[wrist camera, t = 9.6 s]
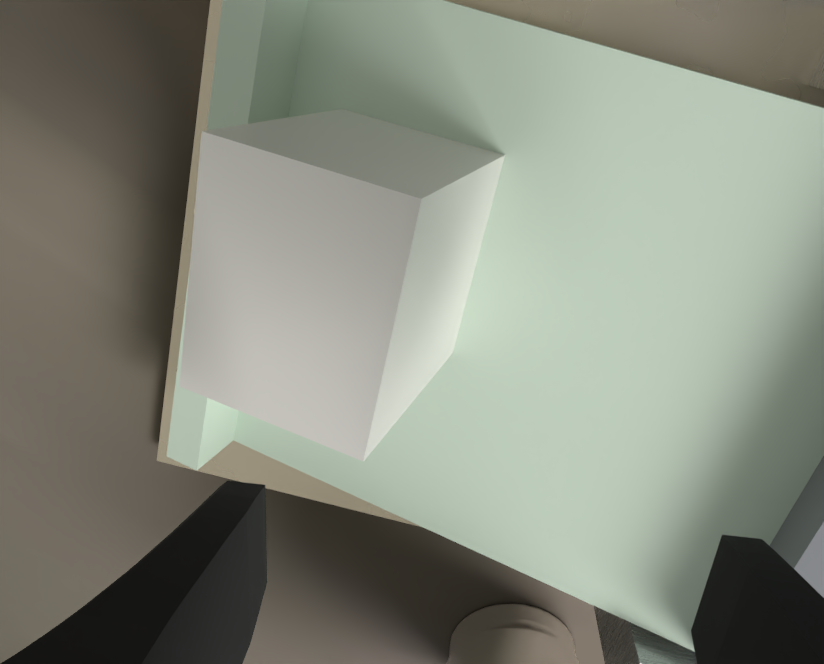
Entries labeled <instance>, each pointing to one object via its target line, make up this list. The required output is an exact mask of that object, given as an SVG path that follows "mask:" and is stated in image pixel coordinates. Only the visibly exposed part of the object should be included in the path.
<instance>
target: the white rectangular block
mask: <svg viewBox="0 0 824 664" xmlns="http://www.w3.org/2000/svg"><path fill="white" fill-rule="evenodd" d="M504 157H505V155H503V154H499V153H496V152H492V151H489V150H485V149H482V148H478V147H475V146H471V145H468V144H464V143H461V142H457V141H454V140H450V139H447V138H443V137H440V136H436V135H433V134H429V133H426V132H422V131H419V130H415V129H412V128H408V127H405V126H401V125H397V124H394V123H390V122H387V121H383V120H380V119H376V118H373V117H369V116H366V115H362V114H359V113H355V112H352V111H348V110H345V109H338V110H332V111H326V112H320V113H313V114H307V115H301V116H294V117H288V118H282V119H275V120H269V121H263V122H256V123H250V124H244V125H237V126H231V127H225V128H218V129H212V130H206V131H202V133H201V145H200V156H199V168H198V179H197V191H196V202H195V214H194V225H193V237H192V248H191V260H190V271H189V283H188V294H187V306H186V317H185V329H184V340H183V352H182V363H181V375H180V387H182V388H184V389H187V390H189V391H192V392H194V393H197V394H199V395H202V396H204V397H207V398H209V399H211V400H214V401H216V402H219V403H221V404H224V405H226V406H229V407H231V408H233V409H236V410H238V411H241V412H243V413H246V414H248V415H251V416H253V417H256V418H258V419H260V420H263V421H265V422H268V423H270V424H273V425H275V426H278V427H280V428H282V429H285V430H287V431H290V432H292V433H295V434H297V435H300V436H302V437H305V438H307V439H309V440H312V441H314V442H317V443H319V444H322V445H324V446H327V447H329V448H331V449H334V450H336V451H339V452H341V453H344V454H346V455H349V456H351V457H353V458H356V459H358V460H361V461H363V462H364V460H365V459H366V458H367V457H368V456H369V454H370V453H371V452H372V451H373V449H374V448H375V447H376V446H377V445H378V443H379V442H380V441H381V440H382V438H383V437H384V436H385V435H386V434H387V432H388V431H389V430H390V429H391V428H392V426H393V425H394V424H395V423H396V421H397V420H398V419H399V418H400V417H401V415H402V414H403V413H404V412H405V411H406V409H407V408H408V407H409V406H410V404H411V403H412V402H413V401H414V400H415V398H416V397H417V396H418V395H419V394H420V392H421V391H422V390H423V389H424V387H425V386H426V385H427V384H428V383H429V381H430V380H431V379H432V378H433V376H434V375H435V374H436V373H437V372H438V370H439V369H440V368H441V367H442V366H443V364H444V363H445V362H446V361H447V359H448V358H449V357H450V356H451V355H452V353H453V350H454V346H455V342H456V339H457V335H458V331H459V327H460V323H461V320H462V316H463V312H464V308H465V304H466V301H467V297H468V293H469V289H470V285H471V282H472V278H473V274H474V270H475V267H476V263H477V259H478V255H479V251H480V248H481V244H482V240H483V236H484V232H485V229H486V225H487V221H488V217H489V213H490V210H491V206H492V202H493V198H494V195H495V191H496V187H497V183H498V179H499V176H500V172H501V168H502V164H503V160H504Z"/></svg>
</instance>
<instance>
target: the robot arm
mask: <svg viewBox="0 0 824 664" xmlns="http://www.w3.org/2000/svg"><path fill="white" fill-rule="evenodd" d="M266 583H267V562H266V495H265V485H263V484H254V483H244V482H235V481H227V482H226V483H224V484H223V485H222V486H220V487H219V488H218V489H217V490H216V491H215V492H214V493H213V494H212V495H211V496H210V497H209V498H208V499H207V500H206V501H205V502H204V503H203V504H202V505H201V506H199V507H198V508H197V509H196V510H195V511H194V512H193V513H192V514H191V515H190V516H189V517H188V518H187V519H186V520H185V521H184V522H182V523H181V524H180V525H179V526H178V527H177V528H176V529H175V530H174V531H173V532H172V533H171V534H170V535H168V536H167V537H166V538H165V539H164V540H163V541H162V542H161V543H159V544H158V545H157V546H156V547H155V548H154V549H153V550H151V551H150V552H149V553H148V554H147V555H146V556H145V557H144V558H142V559H141V560H140V561H139V562H138V563H137V564H136V565H134V566H133V567H132V568H131V569H130V570H128V571H127V572H126V573H125V574H124V575H122V576H121V577H120V578H119V579H117V580H116V581H115V582H114V583H112V584H111V585H110V586H109V587H107V588H106V589H105V590H104V591H102V592H101V593H100V594H99V595H97V596H96V597H95V598H94V599H92V600H91V601H90V602H89V603H87V604H86V605H85V606H83V607H82V608H81V609H79V610H78V611H77V612H75V613H74V614H73V615H71V616H70V617H69V618H67V619H66V620H65V621H63V622H62V623H60V624H59V625H58V626H56V627H55V628H53V629H52V630H51V631H49V632H48V633H46V634H45V635H43V636H42V637H41V638H39V639H38V640H36V641H35V642H33V643H32V644H30V645H29V646H27V647H26V648H24V649H23V650H21V651H20V652H18V653H17V654H15V655H14V656H12V657H11V658H9V659H7V660H6V661H4V662H2V663H1V664H242V663H243V660H244V658H245V655H246V653H247V650H248V648H249V645H250V642H251V639H252V635H253V632H254V628H255V625H256V621H257V617H258V614H259V610H260V606H261V602H262V599H263V595H264V591H265V587H266ZM691 634H692V639H693V645H694V650H695V655H696V660H697V664H824V598H823V597H822V596H821V595H820V594H819V593H818V592H817V591H816V590H815V589H814V588H813V587H812V586H811V585H810V584H809V583H808V582H807V581H806V580H805V579H804V578H803V577H802V576H801V575H800V574H799V573H798V572H797V571H796V570H795V569H794V568H792V567H791V566H790V565H789V564H788V563H787V562H786V561H785V560H784V559H783V558H782V557H781V556H780V555H779V554H778V553H777V552H776V551H775V550H774V549H773V548H771V547H770V546H769V545H768V544H767V543H766V542H765V541H764V540H762V539H758V538H748V537H739V536H730V535H722V536H721V539H720V542H719V546H718V549H717V552H716V555H715V558H714V561H713V564H712V567H711V570H710V573H709V576H708V580H707V583H706V586H705V589H704V592H703V595H702V598H701V601H700V604H699V607H698V610H697V613H696V617H695V620H694V623H693V626H692V629H691Z"/></svg>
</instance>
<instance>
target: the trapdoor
mask: <svg viewBox="0 0 824 664" xmlns="http://www.w3.org/2000/svg"><path fill="white" fill-rule="evenodd" d="M338 109H345V110H348V111H352V112H355V113H359V114H362V115H366V116H369V117H373V118H376V119H380V120H383V121H387V122H390V123H394V124H397V125H401V126H405V127H408V128H412V129H415V130H419V131H422V132H426V133H429V134H433V135H436V136H440V137H443V138H447V139H450V140H454V141H457V142H461V143H464V144H468V145H471V146H475V147H478V148H482V149H485V150H489V151H492V152H496V153H499V154H503V155H505V157H504V160H503V164H502V168H501V172H500V176H499V179H498V183H497V187H496V191H495V195H494V198H493V202H492V206H491V210H490V213H489V217H488V221H487V225H486V229H485V232H484V236H483V240H482V244H481V248H480V251H479V255H478V259H477V263H476V267H475V270H474V274H473V278H472V282H471V285H470V289H469V293H468V297H467V301H466V304H465V308H464V312H463V316H462V320H461V323H460V327H459V331H458V335H457V339H456V342H455V346H454V350H453V353H452V355H451V356H450V357H449V358H448V359H447V361H446V362H445V363H444V364H443V366H442V367H441V368H440V369H439V370H438V372H437V373H436V374H435V375H434V376H433V378H432V379H431V380H430V381H429V383H428V384H427V385H426V386H425V387H424V389H423V390H422V391H421V392H420V394H419V395H418V396H417V397H416V398H415V400H414V401H413V402H412V403H411V404H410V406H409V407H408V408H407V409H406V411H405V412H404V413H403V414H402V415H401V417H400V418H399V419H398V420H397V421H396V423H395V424H394V425H393V426H392V428H391V429H390V430H389V431H388V432H387V434H386V435H385V436H384V437H383V438H382V440H381V441H380V442H379V443H378V445H377V446H376V447H375V448H374V449H373V451H372V452H371V453H370V454H369V456H368V457H367V458H366V459H365V460H364V462H363V461H361V460H358V459H356V458H353V457H351V456H349V455H346V454H344V453H341V452H339V451H336V450H334V449H331V448H329V447H327V446H324V445H322V444H319V443H317V442H314V441H312V440H309V439H307V438H305V437H302V436H300V435H297V434H295V433H292V432H290V431H287V430H285V429H282V428H280V427H278V426H275V425H273V424H270V423H268V422H265V421H263V420H260V419H258V418H256V417H253V416H251V415H248V414H246V413H243V412H241V411H238V410H236V409H233V408H231V407H229V406H226V405H224V404H221V403H219V402H216V401H214V400H211V399H209V398H207V397H204V396H202V395H199V394H197V393H194V392H192V391H189V390H187V389H184V388H182V387H180V375H181V363H182V352H183V340H184V329H185V317H186V306H187V294H188V285H187V293H186V301H185V310H184V318H183V326H182V334H181V342H180V350H179V358H178V366H177V375H176V383H175V391H174V399H173V407H172V415H171V423H170V431H169V440H168V448H167V457H169V458H171V459H173V460H175V461H177V462H179V463H182V464H184V465H186V466H188V467H190V468H192V469H194V470H196V471H197V470H198V469H199V468H201V467H202V466H203V465H204V464H205V463H207V462H208V461H209V460H210V459H211V458H213V457H214V456H215V455H216V454H218V453H219V452H220V451H221V450H222V449H224V448H225V447H226V446H227V445H228V444H230V443H231V442H232V441H233V440H234V441H236V442H238V443H240V444H242V445H245V446H247V447H249V448H251V449H253V450H256V451H258V452H260V453H262V454H264V455H266V456H269V457H271V458H273V459H275V460H277V461H280V462H282V463H284V464H286V465H288V466H290V467H293V468H295V469H297V470H299V471H301V472H304V473H306V474H308V475H310V476H312V477H314V478H317V479H319V480H321V481H323V482H325V483H328V484H330V485H332V486H334V487H336V488H338V489H341V490H343V491H345V492H347V493H349V494H352V495H354V496H356V497H358V498H360V499H362V500H365V501H367V502H369V503H371V504H373V505H376V506H378V507H380V508H382V509H384V510H386V511H389V512H391V513H393V514H395V515H397V516H400V517H402V518H404V519H406V520H408V521H410V522H413V523H415V524H417V525H419V526H421V527H424V528H426V529H428V530H430V531H432V532H434V533H437V534H439V535H441V536H443V537H445V538H448V539H450V540H452V541H454V542H456V543H458V544H461V545H463V546H465V547H467V548H469V549H472V550H474V551H476V552H478V553H480V554H482V555H485V556H487V557H489V558H491V559H493V560H496V561H498V562H500V563H502V564H504V565H506V566H509V567H511V568H513V569H515V570H517V571H519V572H522V573H524V574H526V575H528V576H530V577H533V578H535V579H537V580H539V581H541V582H543V583H546V584H548V585H550V586H552V587H554V588H557V589H559V590H561V591H563V592H565V593H567V594H570V595H572V596H574V597H576V598H578V599H581V600H583V601H585V602H587V603H589V604H591V605H594V606H596V607H598V608H600V609H602V610H605V611H607V612H609V613H611V614H613V615H615V616H618V617H620V618H622V619H624V620H626V621H629V622H631V623H633V624H635V625H637V626H639V627H642V628H644V629H646V630H648V631H650V632H653V633H655V634H657V635H659V636H661V637H663V638H666V639H668V640H670V641H672V642H674V643H677V644H679V645H681V646H683V647H685V648H687V649H690V650H692V651H694V652H695V650H694V645H693V639H692V634H691V629H692V626H693V623H694V620H695V617H696V613H697V610H698V607H699V604H700V601H701V598H702V595H703V592H704V589H705V586H706V583H707V580H708V576H709V573H710V570H711V567H712V564H713V561H714V558H715V555H716V552H717V549H718V546H719V542H720V539H721V536H722V535H730V536H739V537H748V538H758V539H762V540H764V541H765V542H766V543H767V544H768V545H769V546H770V547H771V548H773V549H774V550H775V551H776V552H777V553H778V554H779V555H780V556H781V557H782V558H783V559H784V560H785V561H786V562H787V563H788V564H789V565H790V566H791V567H792V568H794V569H795V570H796V571H797V572H798V573H799V574H800V575H801V576H802V577H803V578H804V579H805V580H806V581H807V582H808V583H809V584H810V585H811V586H812V587H813V588H814V589H815V590H816V591H817V592H818V593H819V594H820V595H821V596H822V597H823V598H824V107H821V106H817V105H814V104H810V103H807V102H803V101H800V100H796V99H793V98H789V97H786V96H782V95H779V94H775V93H772V92H768V91H764V90H761V89H757V88H754V87H750V86H747V85H743V84H740V83H736V82H733V81H729V80H726V79H722V78H719V77H715V76H711V75H708V74H704V73H701V72H697V71H694V70H690V69H687V68H683V67H680V66H676V65H673V64H669V63H666V62H662V61H659V60H655V59H651V58H648V57H644V56H641V55H637V54H634V53H630V52H627V51H623V50H620V49H616V48H613V47H609V46H606V45H602V44H598V43H595V42H591V41H588V40H584V39H581V38H577V37H574V36H570V35H567V34H563V33H560V32H556V31H553V30H549V29H545V28H542V27H538V26H535V25H531V24H528V23H524V22H521V21H517V20H514V19H510V18H507V17H503V16H500V15H496V14H493V13H489V12H485V11H482V10H478V9H475V8H471V7H468V6H464V5H461V4H457V3H454V2H450V1H447V0H223V1H222V9H221V17H220V25H219V33H218V41H217V50H216V58H215V66H214V74H213V82H212V90H211V98H210V106H209V115H208V123H207V130H212V129H218V128H225V127H231V126H237V125H244V124H250V123H256V122H263V121H269V120H275V119H282V118H288V117H294V116H301V115H307V114H313V113H320V112H326V111H332V110H338ZM189 271H190V269H189ZM188 283H189V277H188Z"/></svg>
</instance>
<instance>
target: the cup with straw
mask: <svg viewBox="0 0 824 664" xmlns="http://www.w3.org/2000/svg"><path fill="white" fill-rule="evenodd" d="M449 652H450V657H449V659H448V661H447V664H580V662H579V660H578V658H577V657H576V656H575V643H574V640H573V638H572V635H571V633H570V632H569V630H568V629H567V627H566V626H565V625H564V624H563V623H562V622H561V621H560V620H559V619H558V618H556V617H555V616H553V615H551V614H550V613H548V612H546V611H544V610H541V609H539V608H536V607H532V606H528V605H523V604H498V605H493V606H488V607H485V608H483V609H480V610H477V611H475V612H473V613H472V614H470V615H469V616H467V617H466V618H465V619H463V620H462V621H461V622H460V623H459V624H458V626H457V627H456V628H455V630H454V631H453V634H452V636H451V639H450V647H449Z"/></svg>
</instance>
